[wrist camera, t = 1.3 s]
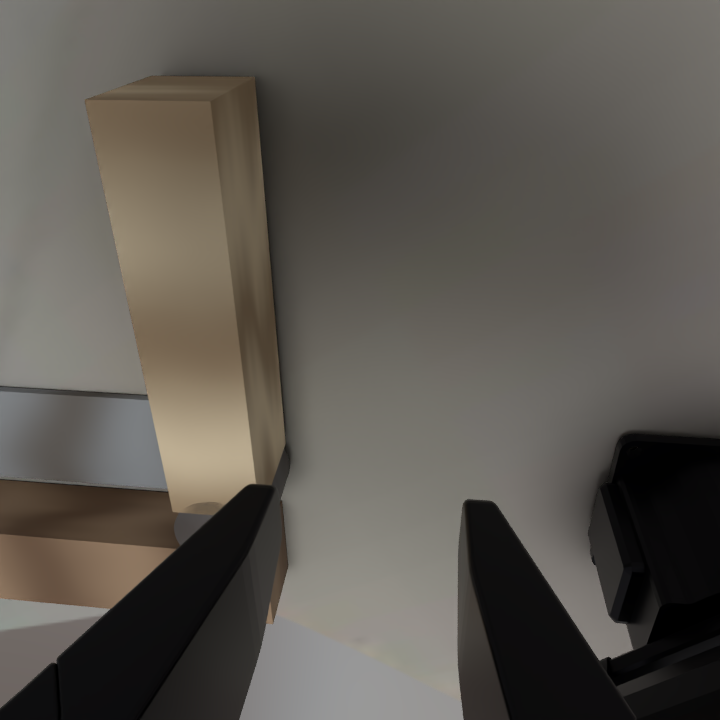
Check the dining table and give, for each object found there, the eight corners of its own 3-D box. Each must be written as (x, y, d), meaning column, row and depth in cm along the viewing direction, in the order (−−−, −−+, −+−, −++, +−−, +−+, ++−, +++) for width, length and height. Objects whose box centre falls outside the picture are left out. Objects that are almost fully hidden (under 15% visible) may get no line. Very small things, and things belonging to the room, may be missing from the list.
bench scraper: (273, 403, 24) (252, 453, 22) (288, 566, 29) (272, 624, 27) (-161, 377, 26) (-226, 420, 24) (-81, 535, 31) (-128, 586, 28)
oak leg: (292, 494, 26) (269, 573, 23) (215, 488, 26) (181, 565, 23) (258, 76, 18) (214, 101, 15) (148, 75, 18) (80, 99, 15)
